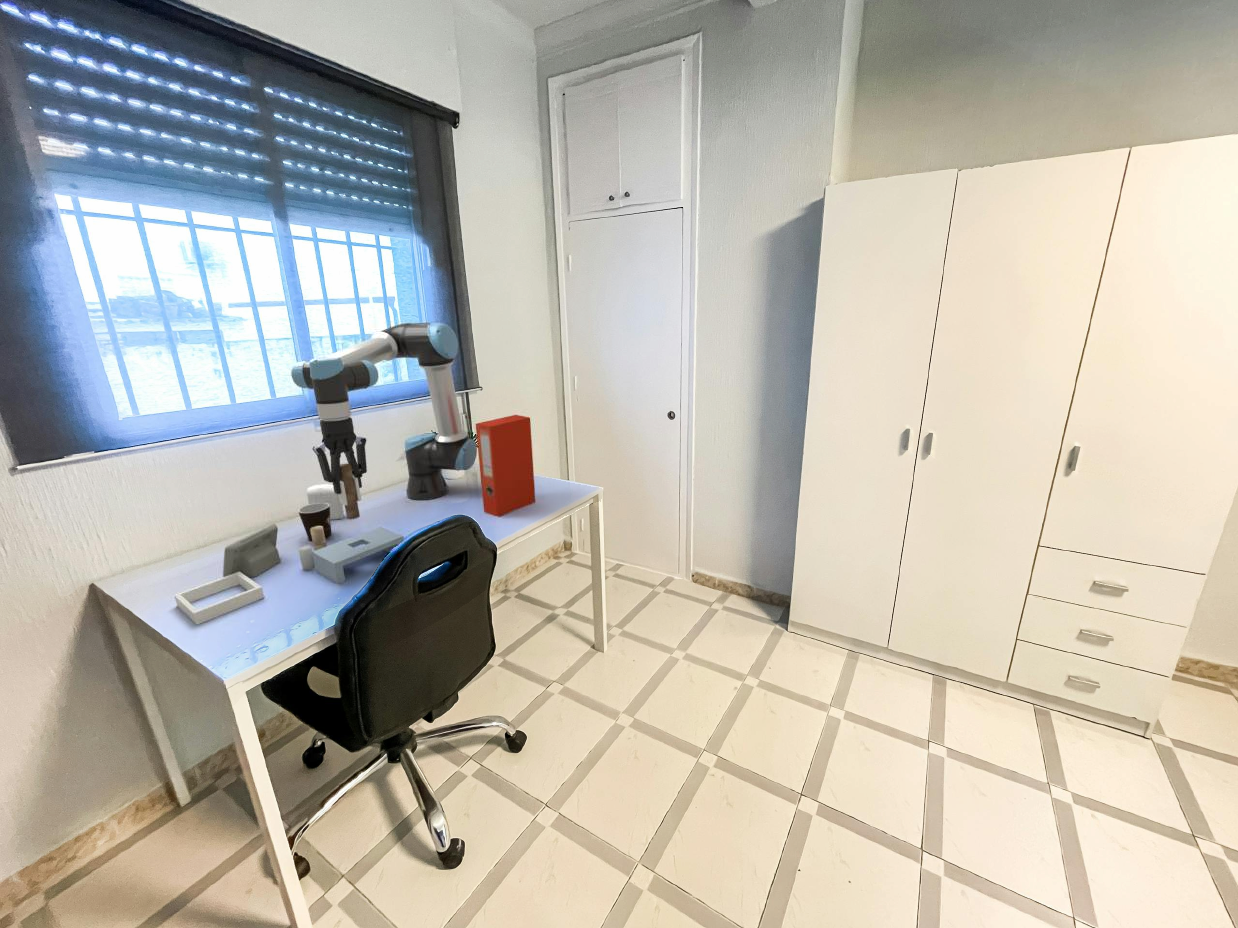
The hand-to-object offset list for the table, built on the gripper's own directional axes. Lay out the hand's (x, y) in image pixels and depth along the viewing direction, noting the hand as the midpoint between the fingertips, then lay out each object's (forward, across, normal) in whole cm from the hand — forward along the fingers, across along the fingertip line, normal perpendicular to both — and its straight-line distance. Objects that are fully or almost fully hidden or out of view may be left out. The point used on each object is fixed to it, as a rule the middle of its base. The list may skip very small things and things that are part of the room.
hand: (350, 501), depth 142 cm
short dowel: (+19, +10, -10) cm, 23 cm away
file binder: (+19, -53, +4) cm, 57 cm away
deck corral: (+19, +31, -10) cm, 37 cm away
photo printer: (+19, -11, -42) cm, 47 cm away
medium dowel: (+19, +4, -14) cm, 24 cm away
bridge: (+19, 0, 0) cm, 19 cm away
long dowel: (+5, 0, 0) cm, 5 cm away
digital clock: (+19, +18, -22) cm, 35 cm away
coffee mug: (+19, -3, -29) cm, 35 cm away
